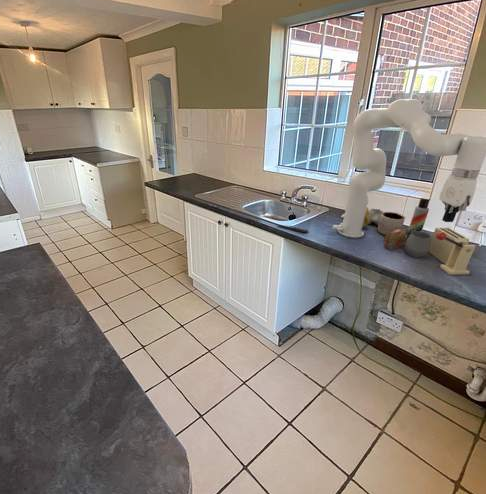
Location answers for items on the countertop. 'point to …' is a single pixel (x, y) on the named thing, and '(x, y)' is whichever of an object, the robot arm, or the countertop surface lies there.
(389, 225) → the planter
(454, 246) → the lever bracket
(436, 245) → the toaster
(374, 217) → the fossil
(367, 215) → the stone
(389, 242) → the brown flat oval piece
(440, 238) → the red knob lever
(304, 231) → the knife
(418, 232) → the cup
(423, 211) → the spray bottle
